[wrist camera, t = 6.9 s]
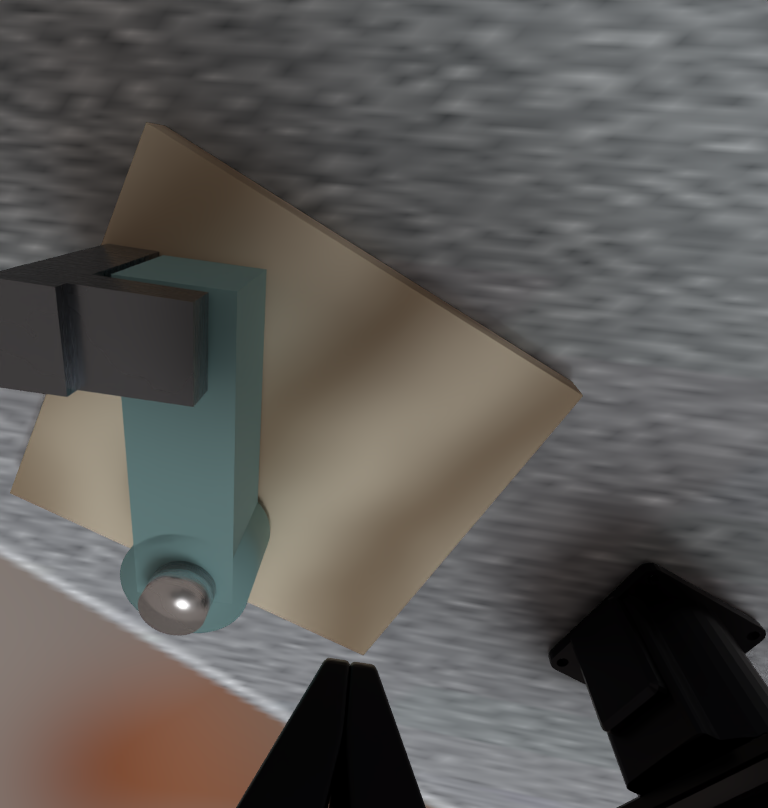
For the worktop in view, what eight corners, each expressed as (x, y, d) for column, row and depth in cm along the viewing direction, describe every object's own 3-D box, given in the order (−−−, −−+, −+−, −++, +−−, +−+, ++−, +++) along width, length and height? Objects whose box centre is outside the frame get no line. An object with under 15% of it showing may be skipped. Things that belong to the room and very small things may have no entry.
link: (268, 575, 20) (238, 665, 16) (163, 562, 20) (109, 650, 16) (283, 271, 15) (246, 303, 12) (146, 252, 15) (65, 279, 12)
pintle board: (572, 381, 18) (651, 481, 12) (364, 632, 23) (352, 785, 17) (164, 125, 15) (20, 99, 9) (31, 475, 20) (-116, 596, 15)
